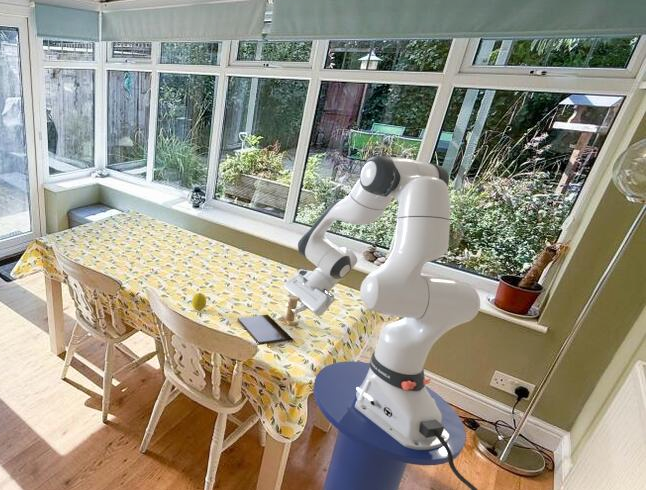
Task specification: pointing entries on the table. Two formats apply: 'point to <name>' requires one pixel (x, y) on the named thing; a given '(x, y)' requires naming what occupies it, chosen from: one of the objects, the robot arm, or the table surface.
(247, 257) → the table surface
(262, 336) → the tablet
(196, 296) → the lemon
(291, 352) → the table surface
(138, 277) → the table surface
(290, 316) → the brush
